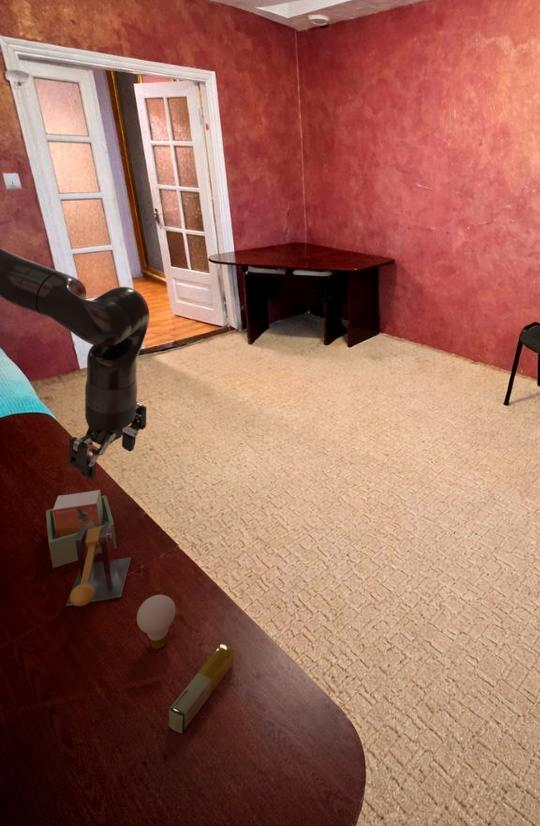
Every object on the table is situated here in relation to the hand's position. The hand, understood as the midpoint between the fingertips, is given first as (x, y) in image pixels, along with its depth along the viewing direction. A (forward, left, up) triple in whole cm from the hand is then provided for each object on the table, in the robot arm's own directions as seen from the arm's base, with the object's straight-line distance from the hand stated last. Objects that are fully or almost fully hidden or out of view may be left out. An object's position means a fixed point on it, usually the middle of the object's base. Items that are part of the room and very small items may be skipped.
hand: (109, 461), depth 90 cm
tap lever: (-3, -7, -19) cm, 20 cm away
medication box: (+19, -29, -27) cm, 44 cm away
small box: (-11, +11, -26) cm, 30 cm away
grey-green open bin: (-11, +11, -26) cm, 31 cm away
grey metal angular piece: (-3, -2, -26) cm, 27 cm away
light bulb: (+11, -19, -27) cm, 34 cm away
